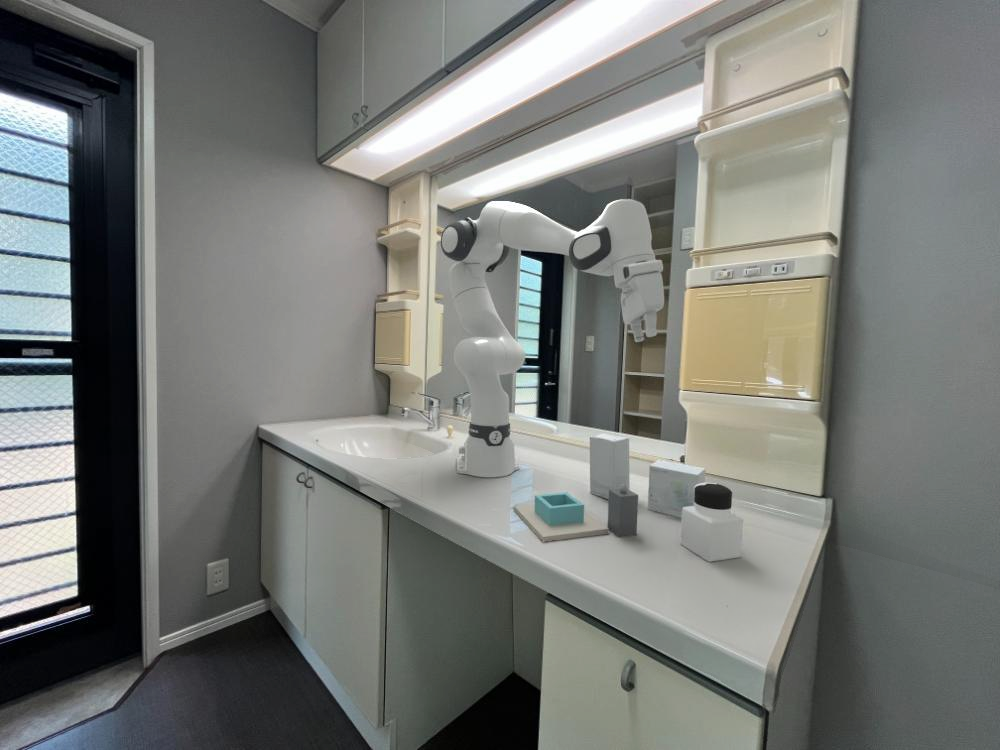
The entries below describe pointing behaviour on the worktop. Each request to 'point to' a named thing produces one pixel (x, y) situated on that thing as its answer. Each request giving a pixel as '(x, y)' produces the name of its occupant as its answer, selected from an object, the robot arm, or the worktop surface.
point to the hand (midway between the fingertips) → (645, 339)
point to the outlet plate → (559, 518)
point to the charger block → (622, 512)
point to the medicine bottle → (712, 524)
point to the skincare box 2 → (672, 486)
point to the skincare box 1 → (608, 463)
